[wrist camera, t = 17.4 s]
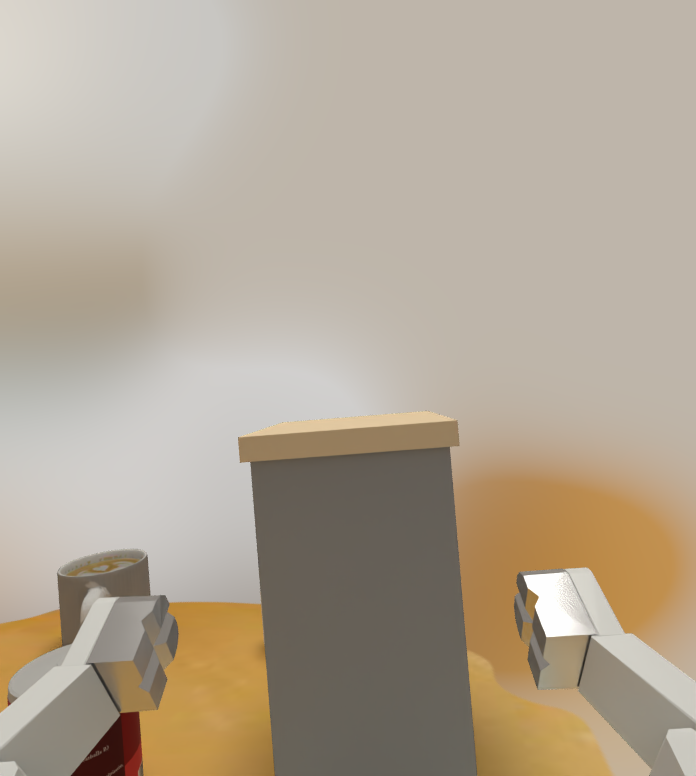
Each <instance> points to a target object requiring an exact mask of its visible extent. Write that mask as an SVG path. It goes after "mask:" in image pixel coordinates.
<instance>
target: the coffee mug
mask: <svg viewBox="0 0 696 776" xmlns="http://www.w3.org/2000/svg"><path fill="white" fill-rule="evenodd" d="M57 575H58V590H59V604H60V618H61V632H62V646H63V647H64V646H66V645H70V644H72V643H73V641H74V639H75V637H76V635H77V634H78V632H79V630H80V628H81V626H82V624H83V622H84V620H85V618H86V616H87V614H88V612H89V610H90V608H91V606H92V605H93V603H94V602H95V601H96V600H98V599H99V598H108V597H130V596H150V584H149V571H148V557H147V553H146V552H145V551H143V550H139V549H121V550H112V551H106V552H101V553H96V554H92V555H88V556H85V557H82V558H79V559H76V560H73V561H71V562H69V563H67V564H65V565H63V566H62V567H61V568H60V569H59V570H58V573H57Z"/></svg>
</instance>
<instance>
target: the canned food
mask: <svg viewBox="0 0 696 776" xmlns="http://www.w3.org/2000/svg"><path fill="white" fill-rule="evenodd" d="M71 645H72V644H70V645H66V646H64V647H61V648H58V649H55V650H53V651H50V652H48V653H46V654H44V655H42V656H40V657H38V658H36V659H34V660H33V661H31V662H30V663H28V664H26V665H25V666H24V667H22V668H21V669H20V670H19V671H18V672H17V673H16V674H15V675H14V676H13V677H12V678H11V680H10V682H9V686H8V706H9V705H11V704H12V703H13V702H14V701H15V700H16V699H17V698H19V697H20V696H21V695H22V694H23V693H24V692H26V691H27V690H28V689H29V688H30V687H31V686H32V685H34V684H35V683H36V682H37V681H38V680H39V679H41V678H42V677H43V676H44V675H45V674H46V673H47V672H49V671H50V670H51V669H52V668H53V667H55V666H61V665H62V663H63V661H64V659H65V657H66V655H67V653H68V651H69V649H70V647H71ZM119 714H120V716H119V717H118V719H117V720H116V721H115V722H114V723H113V725H112V726H111V727H110V728H109V730H108V731H107V732H106V733H105V734H104V736H103V737H102V738H101V739H100V741H99V742H98V743H97V744H96V745H95V747H94V748H93V749H92V750H91V751H90V753H89V754H88V755H87V756H86V758H85V759H84V760H83V761H82V762H81V764H80V765H79V766H78V767H77V768H76V770H75V771H74V772H73V773H72V775H71V776H143V762H142V748H141V733H140V719H139V711H138V712H126V713H119Z"/></svg>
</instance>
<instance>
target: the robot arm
mask: <svg viewBox="0 0 696 776" xmlns="http://www.w3.org/2000/svg"><path fill="white" fill-rule="evenodd" d="M517 586H518V589H519V593H518V594H517V595H516V596H515V603H514V609H515V619H516V623H517V627H518V631H519V635H520V638H521V640H522V641H523V642H524V643H525V644H526V645H527V646H528V647H529V652H528V662H529V665H530V668H531V671H532V674H533V677H534V680H535V683H536V686H537V689H538V690H546V689H578V691H579V692H580V693H581V694H582V696H583V697H584V698H585V699H586V700H587V701H588V702H589V703H590V704H591V705H592V706H593V707H594V708H595V709H596V710H597V711H598V713H599V714H600V715H601V716H602V717H603V718H604V719H605V720H606V721H607V722H608V723H609V724H610V725H611V726H612V728H613V729H614V730H615V731H616V732H617V733H618V734H619V735H620V736H621V737H622V738H623V739H624V740H625V741H626V742H627V743H628V745H629V746H630V747H631V748H632V749H633V750H634V751H635V752H636V753H637V754H638V755H639V756H640V757H641V758H642V759H643V760H644V762H646V764H647V765H648V766H649V767H650V768H651V769H652V770H651V772H650V775H649V776H696V682H695V681H694V680H693V679H691V678H690V677H689V676H688V675H686V674H685V673H684V672H682V671H681V670H679V669H678V668H677V667H676V666H674V665H673V664H672V663H670V662H669V661H668V660H666V659H665V658H664V657H662V656H661V655H660V654H658V653H657V652H656V651H654V650H653V649H652V648H650V647H649V646H648V645H646V644H645V643H644V642H643V641H641V640H640V639H638V638H637V637H636V636H635V635H633V634H625V633H624V631H623V629H622V627H621V626H620V624H619V622H618V620H617V618H616V616H615V614H614V612H613V611H612V609H611V607H610V605H609V603H608V601H607V600H606V598H605V596H604V594H603V592H602V590H601V588H600V587H599V584H598V583H597V581H596V579H595V577H594V575H593V573H592V572H591V571H590V570H589V569H588V568H574V569H552V570H539V571H526V572H519V574H518V575H517ZM168 607H169V602H168V600H167V598H166V596H165V595H160V596H130V597H108V598H99V599H98V600H96V601H95V602H94V603H93V605H92V606H91V608H90V610H89V612H88V614H87V616H86V618H85V620H84V622H83V624H82V626H81V628H80V630H79V632H78V634H77V635H76V637H75V639H74V641H73V643H72V645H71V647H70V649H69V651H68V653H67V655H66V657H65V659H64V661H63V663H62V665H61V666H55V667H53V668H52V669H51V670H50V671H49V672H47V673H46V674H45V675H44V676H43V677H42V678H41V679H39V680H38V681H37V682H36V683H35V684H34V685H32V686H31V687H30V688H29V689H28V690H27V691H26V692H24V693H23V694H22V695H21V696H20V697H19V698H17V699H16V700H15V701H14V702H13V703H12V704H11V705H9V706H8V707H7V708H6V709H5V710H4V711H2V712H1V713H0V776H71V775H72V773H73V772H74V771H75V770H76V768H77V767H78V766H79V765H80V764H81V762H82V761H83V760H84V759H85V758H86V756H87V755H88V754H89V753H90V751H91V750H92V749H93V748H94V747H95V745H96V744H97V743H98V742H99V741H100V739H101V738H102V737H103V736H104V734H105V733H106V732H107V731H108V730H109V728H110V727H111V726H112V725H113V723H114V722H115V721H116V720H117V719H118V717H119V716H120V714H119V713H126V712H138V711H150V710H158V707H159V704H160V701H161V698H162V694H163V691H164V688H165V685H166V682H167V677H166V675H165V672H164V669H165V668H166V667H167V666H168V665H169V664H170V663H171V662H172V661H173V660H174V656H175V653H176V649H177V643H178V626H177V622H176V620H175V617H174V616H172V615H171V614H169V613H168V612H167V610H168Z"/></svg>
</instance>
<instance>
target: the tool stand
mask: <svg viewBox="0 0 696 776" xmlns="http://www.w3.org/2000/svg"><path fill="white" fill-rule="evenodd" d="M238 441H239V442H238V443H239V455H240V463H241V462H250V463H251V476H252V488H253V501H254V514H255V527H256V539H257V552H258V565H259V578H260V591H261V603H262V616H263V629H264V642H265V654H266V667H267V680H268V693H269V705H270V718H271V731H272V744H273V756H274V769H275V776H477V767H476V755H475V743H474V731H473V719H472V708H471V696H470V684H469V672H468V660H467V648H466V637H465V624H464V612H463V600H462V589H461V576H460V565H459V552H458V541H457V528H456V516H455V505H454V493H453V482H452V469H451V457H450V447H452V446H459V434H458V422H457V420H455V419H452V418H448V417H445V416H442V415H439V414H436V413H433V412H430V411H422V412H409V413H396V414H384V415H371V416H358V417H346V418H334V419H320V420H308V421H295V422H283V423H280V424H277V425H274V426H271V427H268V428H265V429H262V430H259V431H256V432H253V433H250V434H247V435H244V436H241V437H238Z"/></svg>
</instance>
